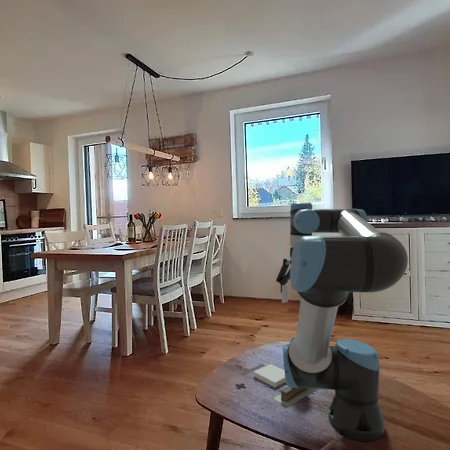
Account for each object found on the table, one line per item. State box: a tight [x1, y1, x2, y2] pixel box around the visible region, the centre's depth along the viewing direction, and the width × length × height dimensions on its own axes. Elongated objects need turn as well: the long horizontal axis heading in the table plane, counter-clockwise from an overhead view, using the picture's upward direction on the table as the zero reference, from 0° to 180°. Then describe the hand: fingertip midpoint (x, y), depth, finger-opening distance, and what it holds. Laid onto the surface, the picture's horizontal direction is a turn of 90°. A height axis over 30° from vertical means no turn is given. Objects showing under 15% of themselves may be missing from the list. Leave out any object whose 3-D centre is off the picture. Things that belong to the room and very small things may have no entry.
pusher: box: [280, 385, 307, 402], centre depth 115 cm, size 4×16×9 cm, turn 131°
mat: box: [242, 363, 266, 375], centre depth 126 cm, size 17×11×1 cm, turn 41°
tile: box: [253, 363, 286, 388], centre depth 125 cm, size 2×9×10 cm
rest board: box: [273, 389, 318, 408], centre depth 116 cm, size 6×19×1 cm, turn 131°
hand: (300, 306), depth 123 cm, fingers open, 13 cm apart
